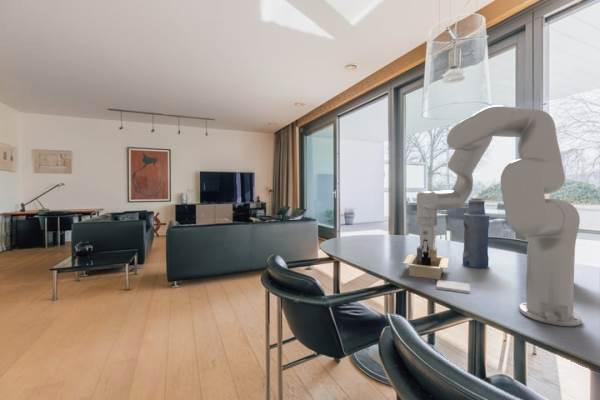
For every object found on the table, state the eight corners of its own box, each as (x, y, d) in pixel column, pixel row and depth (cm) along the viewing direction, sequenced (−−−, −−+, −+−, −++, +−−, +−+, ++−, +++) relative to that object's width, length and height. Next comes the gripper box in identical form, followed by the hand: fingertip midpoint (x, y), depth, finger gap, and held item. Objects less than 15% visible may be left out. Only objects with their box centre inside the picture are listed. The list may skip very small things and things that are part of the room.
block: (435, 274, 113) (435, 249, 112) (417, 272, 116) (416, 248, 116) (436, 271, 117) (436, 247, 116) (418, 269, 120) (418, 246, 120)
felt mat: (469, 293, 93) (469, 291, 93) (436, 288, 98) (436, 286, 98) (469, 285, 100) (469, 283, 100) (437, 281, 105) (437, 279, 105)
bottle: (460, 262, 131) (460, 197, 130) (484, 263, 128) (484, 197, 127) (466, 267, 122) (466, 198, 121) (492, 269, 119) (493, 198, 118)
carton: (447, 282, 104) (447, 269, 104) (401, 276, 112) (401, 264, 112) (449, 268, 121) (449, 257, 121) (409, 263, 129) (409, 253, 129)
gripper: (435, 224, 107) (435, 272, 107) (438, 219, 121) (438, 261, 122) (414, 223, 110) (414, 269, 111) (419, 219, 125) (419, 260, 126)
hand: (427, 265), depth 116 cm, fingers closed on block, 4 cm apart
